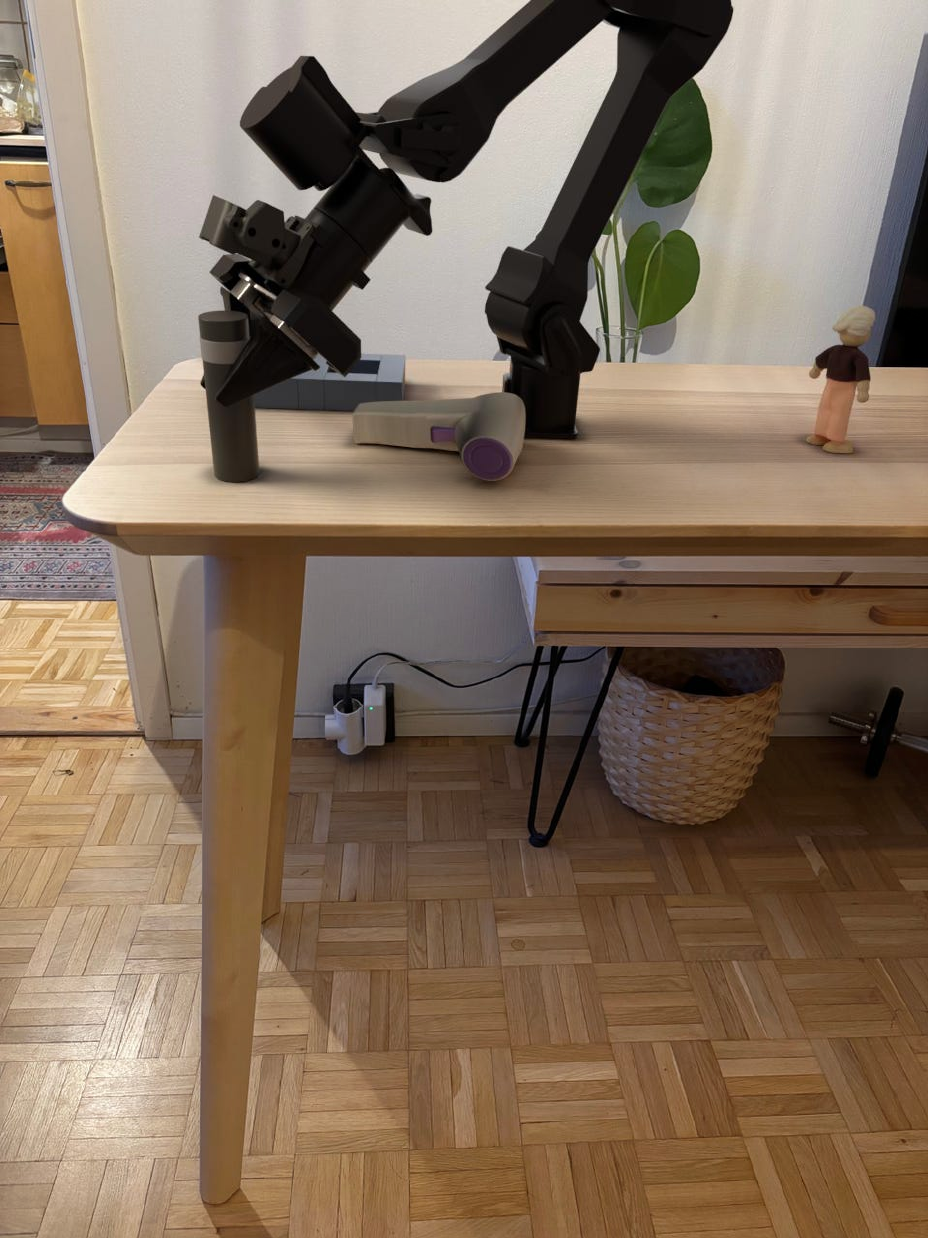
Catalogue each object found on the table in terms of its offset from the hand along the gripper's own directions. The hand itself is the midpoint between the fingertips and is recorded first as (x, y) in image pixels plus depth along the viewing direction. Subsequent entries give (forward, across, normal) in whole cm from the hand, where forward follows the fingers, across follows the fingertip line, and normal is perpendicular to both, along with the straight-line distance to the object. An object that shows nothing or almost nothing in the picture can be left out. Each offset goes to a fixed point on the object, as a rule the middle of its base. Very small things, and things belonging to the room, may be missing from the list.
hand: (212, 395), depth 71 cm
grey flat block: (-6, -18, +16) cm, 24 cm away
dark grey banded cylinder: (+4, 0, +6) cm, 7 cm away
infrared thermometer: (-8, +3, +17) cm, 19 cm away
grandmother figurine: (-33, +14, +43) cm, 56 cm away
